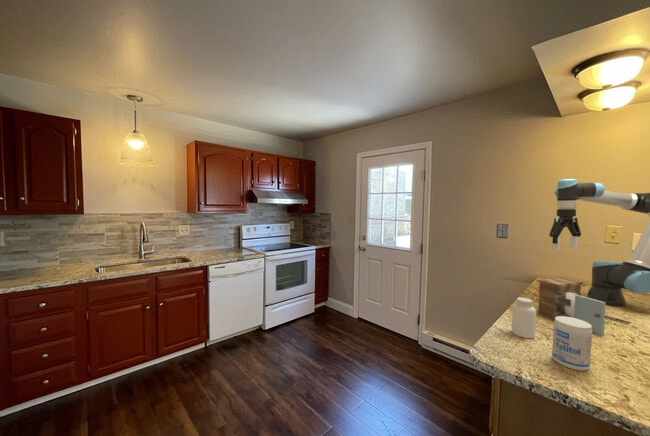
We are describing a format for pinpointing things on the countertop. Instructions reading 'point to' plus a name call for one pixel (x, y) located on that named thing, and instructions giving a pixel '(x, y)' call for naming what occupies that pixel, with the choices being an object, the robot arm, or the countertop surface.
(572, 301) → the door
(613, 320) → the pliers
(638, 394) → the countertop surface
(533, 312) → the pill bottle
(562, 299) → the cabinet
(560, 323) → the supplement tub
